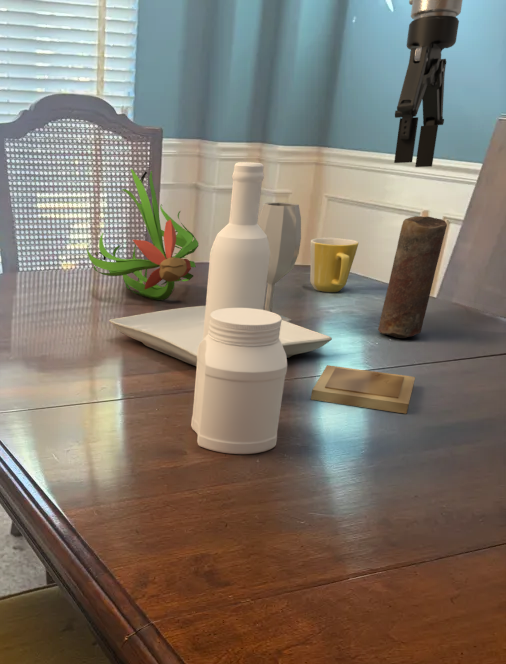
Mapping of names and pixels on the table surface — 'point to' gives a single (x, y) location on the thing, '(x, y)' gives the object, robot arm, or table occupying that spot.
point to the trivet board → (364, 389)
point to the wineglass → (280, 242)
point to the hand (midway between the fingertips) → (413, 165)
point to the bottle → (239, 249)
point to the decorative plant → (152, 250)
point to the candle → (412, 276)
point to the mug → (331, 263)
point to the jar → (239, 382)
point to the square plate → (201, 333)
